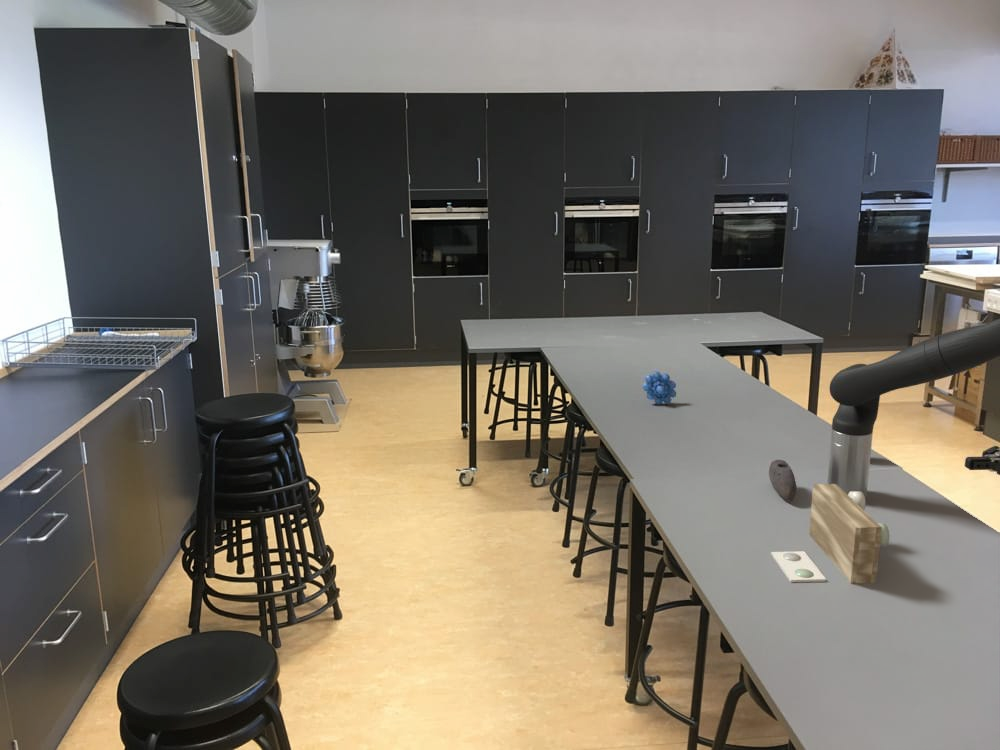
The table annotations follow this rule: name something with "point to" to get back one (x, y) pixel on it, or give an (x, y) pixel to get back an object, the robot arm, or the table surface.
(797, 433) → the table surface
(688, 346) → the table surface
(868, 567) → the light wood rectangular block
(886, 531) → the button sage
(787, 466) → the perforated stone tool
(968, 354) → the robot arm
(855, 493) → the button white
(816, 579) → the pattern card
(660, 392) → the blue bumpy cluster
